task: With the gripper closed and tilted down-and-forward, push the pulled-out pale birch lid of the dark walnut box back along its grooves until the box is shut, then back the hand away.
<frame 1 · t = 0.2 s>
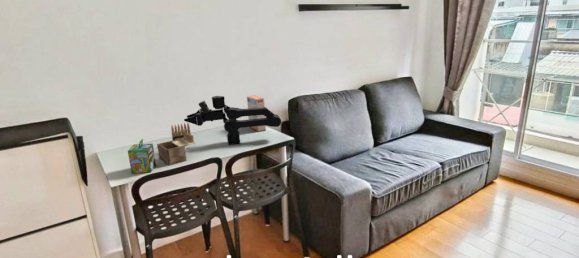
hand: (185, 118, 190), 16 cm above the table, tool horizontal, fingers open, 9 cm apart
ammunition clip: (182, 143, 200), on the table
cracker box: (257, 129, 223), on the table
chalk box: (144, 169, 164), on the table
walnut box: (172, 159, 175), on the table
lid: (182, 139, 176), point 9 cm above the table, slide at 6.0 cm
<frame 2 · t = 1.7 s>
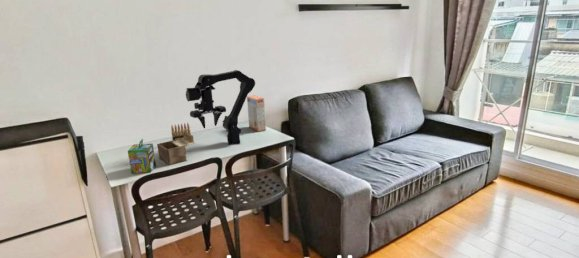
hand: (209, 126, 187), 12 cm above the table, tool pointing down, fingers open, 6 cm apart
nothing on the table moved.
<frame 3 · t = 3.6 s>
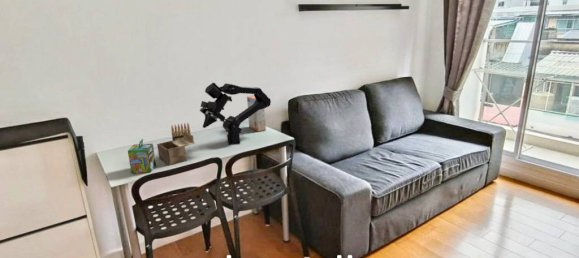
hand: (203, 127, 183), 13 cm above the table, tool tilted 45°, fingers closed
nothing on the table moved.
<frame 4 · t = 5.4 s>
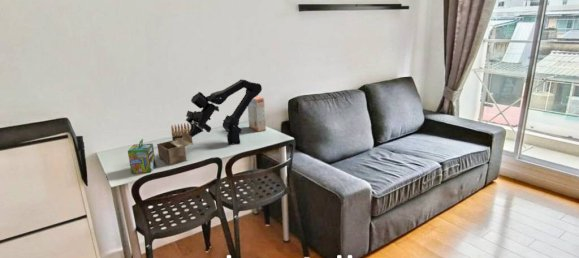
hand: (188, 137, 179), 9 cm above the table, tool tilted 45°, fingers closed, pressing on lid
lid: (181, 139, 176), point 9 cm above the table, slide at 5.3 cm, touching gripper
everything else where it was.
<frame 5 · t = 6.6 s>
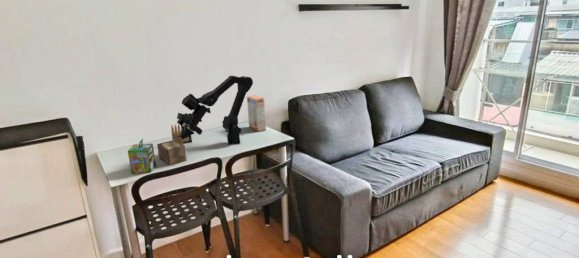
hand: (179, 140, 176), 9 cm above the table, tool tilted 45°, fingers closed, pressing on lid
lid: (171, 142, 173), point 9 cm above the table, slide at 0.3 cm, touching gripper
everything else where it was.
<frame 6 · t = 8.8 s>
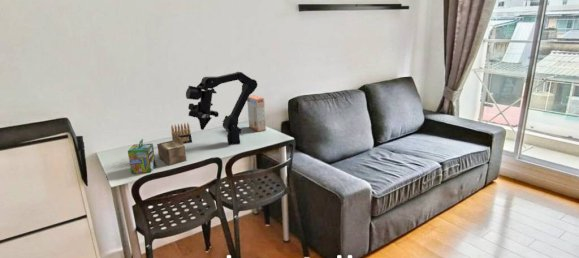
hand: (202, 129, 184), 12 cm above the table, tool pointing down, fingers closed
lid: (171, 142, 173), point 9 cm above the table, slide at 0.3 cm
everything else where it was.
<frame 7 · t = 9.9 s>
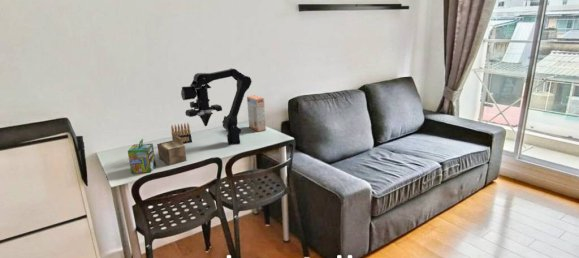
hand: (205, 125, 186), 13 cm above the table, tool pointing down, fingers closed
nothing on the table moved.
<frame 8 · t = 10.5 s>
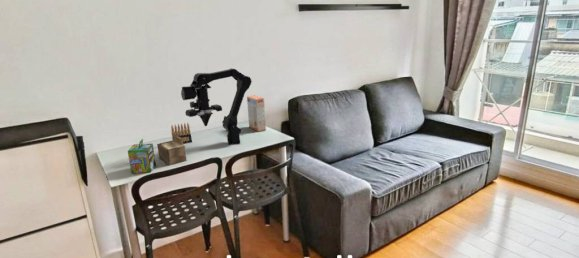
hand: (205, 125, 186), 13 cm above the table, tool pointing down, fingers closed
nothing on the table moved.
at the end: lid slide at 0.3 cm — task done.
